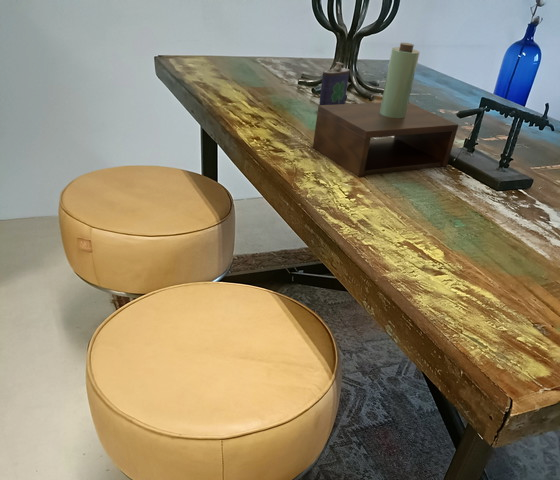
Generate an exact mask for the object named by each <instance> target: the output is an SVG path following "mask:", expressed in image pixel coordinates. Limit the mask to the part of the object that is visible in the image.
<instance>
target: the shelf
mask: <svg viewBox="0 0 560 480" xmlns="http://www.w3.org/2000/svg"><path fill="white" fill-rule="evenodd" d="M381 102H382V101H381ZM381 102H362V103H345V104H337V105H319V104H318V106H317V111H316V112H317V113H316V119H315V128H314V135H313V142H312V148H313V149H314V150H316V151H318V152H319V153H321V154H322V155H323V156H325V157H326V158H329V159H330V160H332V161H333V162H334V163H336V164H338V165H339V166H340V167H342V168H344V169H346V170H347V171H349V172H350V173H352V174H354V175H355V176H357V177H359V178H360V177H364V176H367V175H377V174H383V173H384V174H385V173H392V172H393V173H394V172H402V171H411V170H419V169H428V168H437V167H443V168H445V167H448V163H449V160H450V156H451V153H452V150H453V147H454V143H455V139H456V136H457V131H458V129H459V124H458V123H456V122H453V121H451V120H449V119H446V118H444V117H442V116H441V115H438V114H435V113H434V112H431V111H429V110H427V109H424V108H422V107H420V106H418V105H416V104H414V103H411V102H408V106H407V111H406V115H405V117H404V118H390V117H386V116H383V115H381V114H380V113H379V112H380V107H381Z"/></svg>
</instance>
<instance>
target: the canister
mask: <svg viewBox="0 0 560 480" xmlns="http://www.w3.org/2000/svg"><path fill="white" fill-rule="evenodd" d="M414 47H415V45H414V44H413V43H409V42H400V43H399V47H398V46H395V47H392V48H391V53H390V57H389V62H388V67H387V71H386V72H387V73H386V77H385V83H384V87H383V92H382V97H381V107H380V112H379V113H380V114H381V115H383V116H386V117H390V118H404V117H405V115H406V111H407V106H408V102H409V101H410V97H411V93H412V87H413V83H414V79H415V75H416V71H417V70H416V69H417V65H418V61H419V57H420V53H421V52H420V51H419V50H417V49H414ZM409 103H410V102H409Z"/></svg>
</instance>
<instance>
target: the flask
mask: <svg viewBox="0 0 560 480" xmlns="http://www.w3.org/2000/svg"><path fill="white" fill-rule="evenodd" d="M335 63H336V64H335V66H334V67H332V68H331V69H330V68H327V70H326V69H325V70H323V72H322V77H321V78H322V79H321V86H320V92H319V102H318V105H337V104H346V96H347V90H348V84H349V77H350V72H351V70H350V69H349V68H345V67H342V66H344V63H343V62H339V61H335Z"/></svg>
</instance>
